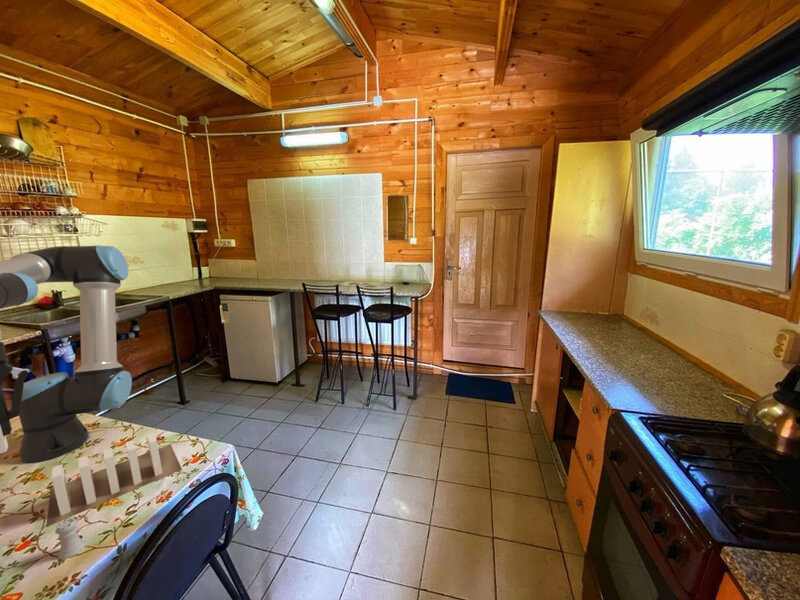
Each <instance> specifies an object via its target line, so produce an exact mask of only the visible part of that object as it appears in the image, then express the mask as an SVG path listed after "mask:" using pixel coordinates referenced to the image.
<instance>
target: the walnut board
mask: <svg viewBox="0 0 800 600" xmlns="http://www.w3.org/2000/svg"><path fill="white" fill-rule="evenodd" d="M158 450H159V456H160V461H161V467H162V474H160V475H157V476H155V474H154V471H153V468H152V462H151V456H150V451H149V452H146V453H144V454H140V455H137V458H138V464H139V469H140V474H141V480H142V482H141V483H138V484H136V485H134V482H133V478H132V473H131V468H130V462H129V459H126V460H125V461H121V462H120V463H119V462H118V463H115V468H116V473H117V478H118V483H119V489H120V491H119V492H117V493H114V494H111V489H110V485H109V480H108V475H107V470H106V467H105V468H104V469H100V470H98V471H94V472H91V473H92V477H93V482H94V486H95V493H96V501H95V502H93V503H90V504H88V505H87V502H86V497H85V493H84V489H83V484H82V480H81V477H78V478H75V479H73V480H71V481H66V482H67V486H68V490H69V495H70V499H71V509H70V512H69V513H66V514H64V515H60V510H59V506H58V502H57V498H56V494H55V490H54V487H52V488H50V492H49V500H48V501H49V502H48V508H47V520H46V528H47V527H50V526H53V525H54V524H57V523H60V522H62V521H64V520H65V519H70V518H72V517H73V516H76V515H78V514H81V513H83V512H85V511H88V510H89V509H92V508H95V507H97V506H99V505H102V504H104V503H107V502H109V501H112V500H114V499H116V498H119V497H120V496H121V497H122V496H123V495H125V494H128V493H130V492H133V491H135V490H137V489H140V488H142V487H145V486H147V485H149V484H151V483H154V482H156V481H159V480H160V479H163V478H166V477H168V476H170V475H172V474H175V473H177V472H180V471H182V470H183V467H181V464H180V461H179V460H178V457H177V455H176V453H175V451H174V449H173V446H172V445H171V443H170V444H168V445H165V446H162V447H158Z"/></svg>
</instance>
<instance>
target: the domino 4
mask: <svg viewBox="0 0 800 600" xmlns="http://www.w3.org/2000/svg"><path fill="white" fill-rule="evenodd" d="M125 446H126V450H127V457H128V460H129V462H130V468H131V473H132V478H133V482H134V485H136V484H138V483H141V482H142V480H141V474H140V469H139V464H138V458H137V457H138V453H137V448H136V444H135V441H134V440H133V439H131V440H130V441H127V442H125Z"/></svg>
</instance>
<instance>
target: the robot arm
mask: <svg viewBox="0 0 800 600" xmlns="http://www.w3.org/2000/svg"><path fill="white" fill-rule="evenodd" d="M128 275H129V266H128V263H127V260H126V258H125V256H124V255H123V253H122V252H121V250H119V248H117V247H115V246H111V245H99V244H98V245H79V246H78V245H77V246H76V245H75V246H74V245H73V246H71V245H70V246H63V245H62V246H61V245H60V246H52V247H47V248H42V249H37V250H32V251H28V252H23V253H17V254H15V255H13V256H12V257H10V258H9V259H5V260H0V310H3V309H6V308H12V307H15V306H16V307H18V306H21V305H24V304H26V303H29V302H31V301H33V300H34V299H35V298H36V297H37V296H38V293H39V286H38V285H40V284H44V283H72V286H73V287H74V288H75V289H77V290H78V291H79V310H80V311H79V313H80V314H79V315H80V318H79V319H80V321H79V322H80V363H81V364H80V366H79V367H78V368H76V370H74V377H69V374H68V373H67V372H65V371H61V372H60V371H59V372H54V373H50V374H46V375H42V376H40V377H37V378H34V379H31V380H28V381H26V382H25V380H26V379H27V377H28V376H29V374H30V371H31V370H30V368H29V367H25V368H19V367H16V366H15V367H14V365H13V363H11V362H10V361H9V359H8V355H7V350H6V347H5V343H4V342H2V341H1V340H2V339H3V335H2V331H1V330H2V329H0V454H3V453H6V452H7V450H8V448H9V443H8V440H7V436H8V435H11V432H12V429H13V428H12V425H11V421H10V419H12V418H13V417H17V416H18V417H19V420H20V424H21V428H22V432H23V436H22V440H21V446H20V449H19V456H20V460H21V462H24V463H38V462H39V463H40V462H43V461H48V460H52V459H54V458H57V457H61V456H63V455H65V453H66V454H68V453H70V452H72V451H74V450H76V449H78V448H79V446H80V447H81V446H82V445H84V444H85V443H86V442H88V440H89V438H90V434H89V431H88V429H87V427H86V426H85V425H84V424H83V422H82V421H81V420H80V419H79V418H78V415H81V414H82V415H83V414H89V413H96V412H105V411H108V410H113V409H117V408H120V407H121V406H123V405H124V404H125V403H126V402H127V400H128V398H129V397H130V394H131V391H132V386H133V379H132V376H131V375H132V374H131V373H130V372H129V371H127V370H124V366H123V365H122V364H121V363H119V362H118V358H117V357H118V353H117V352H118V351H117V346H118V345H117V319H116V318H117V317H116V311H117V310H116V291H117V290H118V289H119V288H121V281H124V280H125V281H126V280H127V278H128ZM10 374H12V379H13V380H15V381H14V384H13V385H14V386H13V392H12V393H13V394H12V399H11V407H10V410H8V407H7V402H6V400H5V399H6V398H5V395H4V392H3V391H4V390H3V385H2V384H3V383H4V381H6V379H7V378H8V376H9V375H10ZM87 439H88V440H87ZM84 442H85V443H84ZM83 443H84V444H83ZM77 447H78V448H77Z"/></svg>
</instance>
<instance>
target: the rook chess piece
mask: <svg viewBox="0 0 800 600" xmlns="http://www.w3.org/2000/svg"><path fill="white" fill-rule="evenodd" d="M77 525H78V520H77V519H75V518H74V517H69V518H67V519H64V520H63V522H62V521H60V522H58V525H56V529H55V530H54V531H55V532H54V533H55V534H57V535H58V539H59V540H60V548H59V551H58V553H57V558H58V559H59V560H66V559H69V558H72V557H74V556H76V555H77V554H78V553H80V552H81V551H82V550H83V549H84V548H85V546H86V545H87V541H86V540H85V539H83V538H82V537H80V536H79V533H78V527H77Z"/></svg>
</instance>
